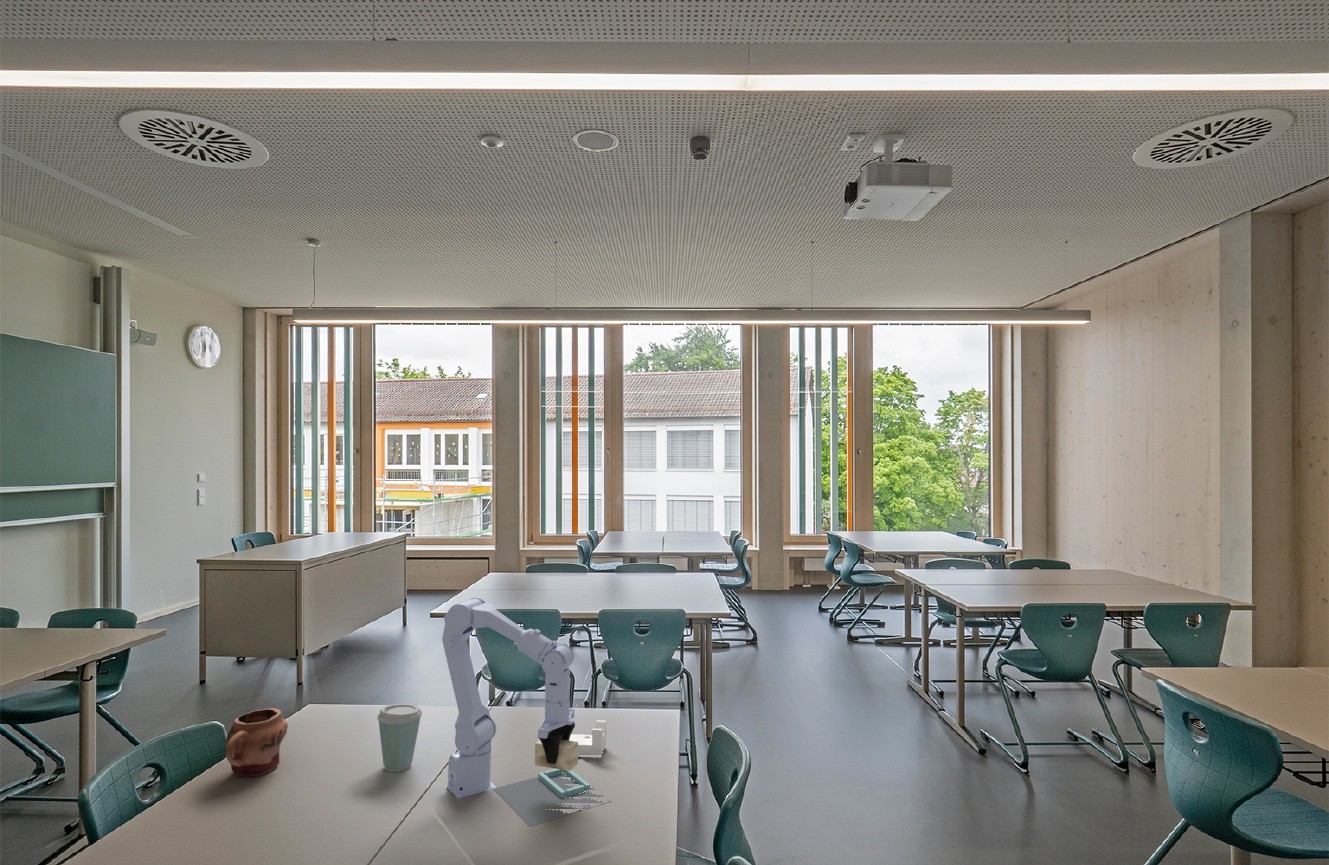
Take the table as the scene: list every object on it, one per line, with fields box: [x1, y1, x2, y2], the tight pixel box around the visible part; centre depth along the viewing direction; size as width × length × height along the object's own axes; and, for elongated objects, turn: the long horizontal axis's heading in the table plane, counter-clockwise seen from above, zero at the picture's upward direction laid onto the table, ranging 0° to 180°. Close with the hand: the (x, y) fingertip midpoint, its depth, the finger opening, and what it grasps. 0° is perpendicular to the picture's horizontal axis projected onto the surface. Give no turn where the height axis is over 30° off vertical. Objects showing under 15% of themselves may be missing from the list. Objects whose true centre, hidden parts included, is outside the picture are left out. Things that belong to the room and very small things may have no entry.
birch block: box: [534, 739, 579, 771], centre depth 162 cm, size 9×4×5 cm, turn 72°
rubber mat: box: [493, 773, 605, 828], centre depth 161 cm, size 20×21×1 cm
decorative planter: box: [225, 707, 289, 778], centre depth 173 cm, size 20×12×14 cm, turn 2°
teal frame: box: [537, 768, 591, 798], centre depth 167 cm, size 8×12×1 cm, turn 35°
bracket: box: [569, 719, 607, 755], centre depth 188 cm, size 13×7×8 cm, turn 85°
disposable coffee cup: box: [377, 703, 423, 773], centre depth 177 cm, size 11×11×15 cm
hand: (556, 758), depth 162 cm, fingers closed on birch block, 4 cm apart
